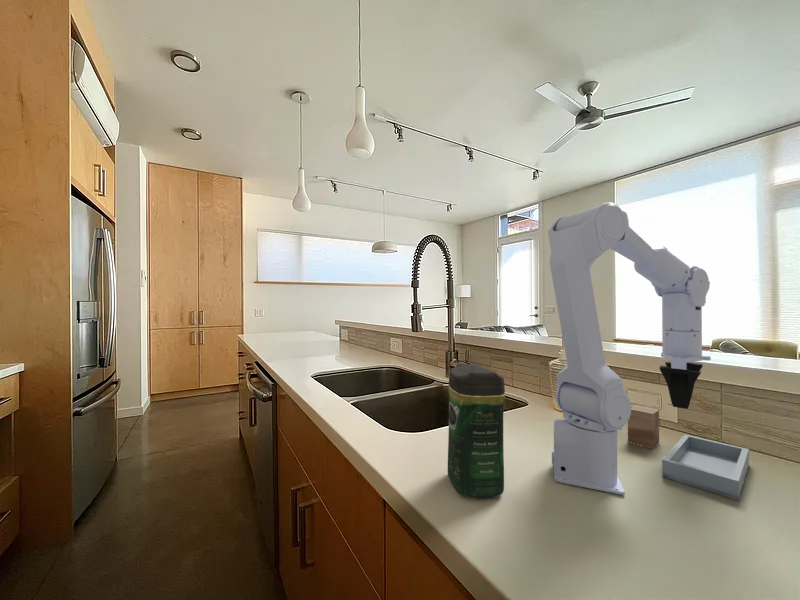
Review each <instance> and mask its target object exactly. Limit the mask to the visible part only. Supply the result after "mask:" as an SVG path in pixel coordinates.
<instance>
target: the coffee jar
mask: <svg viewBox="0 0 800 600" xmlns="http://www.w3.org/2000/svg"><path fill="white" fill-rule="evenodd" d="M505 389H506V388H505V379H504V376H503V375H501V374H498V372H496V371H493V370H490V369H489V368H485V367H484V366H483V365H481V364H478V363H458V364H456V366H454V367H453V368H451V369H450V371H449V375H448V400H449V401H448V438H447V439H448V442H447V445H448V447H447V476H448V479H449V481H450V483H451V485H452V487H453V488H454V489H455V491H456V492H457V493H458V494H459V496H462V497H468V498H472V499H475V500H484V501H485V500H492V499H493V498H496V497H499V496H501V495H503V493H504V491H505V465H504V464H505V463H504V462H505V461H504V459H505V458H504V455H505V454H504V407H505V406H504V405H505V399H506V398H505V397H506V391H505Z"/></svg>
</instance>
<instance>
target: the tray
mask: <svg viewBox="0 0 800 600" xmlns="http://www.w3.org/2000/svg"><path fill="white" fill-rule="evenodd" d="M661 460H662V461H661V470H662V472H661V476H662V478H666V479H668V480H672V481H674V482H679V483H681V484H684V485H687V486H690V487H694V488H698V489H699V490H703V491H707V492H710V493H713V494H717V495H720V496H722V497H725V498H729V499H732V500H736V501H740V498H741V494H742V491H743V487H744V485H745V480H746V477H747V474H746V473H748V470H747V469H749V467H748V465H749V466H750V448H747V447H741V446H738V445H737V446H736V445H733V444H729V443H723V442H720V441H716V440H711V439H705V438H702V437H698V436H693V435H688V434H683V436H682V437H681V438H680V439H679V440H678V441H677V442H676V443H675V445H674V446H673V447H672V448H671V449H670V450H669V452H667V454H666V455H665V456H664V457H663V458H662V459H661Z"/></svg>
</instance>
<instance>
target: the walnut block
mask: <svg viewBox="0 0 800 600" xmlns="http://www.w3.org/2000/svg"><path fill="white" fill-rule="evenodd" d="M628 441H629V442H632V443H631V444H633V443H635V444H634V445H636V444H639V445H638V446H640V445H642V446H641V447H644V446H645V447H644V448H647V447H649V449H651V448H653V449H652V450H654V449H655V448H657V446H658V445H659V444H660V409H656V408H653V407H652V408H651V407H647V406H640V405H637V404H634V405H631V415H630V418H629V420H628V422H627V442H628ZM629 442H628V443H629ZM658 443H659V444H658ZM657 444H658V445H657ZM656 445H657V446H656Z"/></svg>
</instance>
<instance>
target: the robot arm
mask: <svg viewBox="0 0 800 600" xmlns="http://www.w3.org/2000/svg"><path fill="white" fill-rule="evenodd" d="M547 235H548V239H549V240H548V241H549V247H550V258H549V267H550V273H551V278H552V283H553V285H552V286H553V288H554V289H553V290H554V295H555V301H556V302H555V303H556V306H557V311H558V318H559V324H560V329H561V335H562V340H563V346H564V352H565V353H564V354H565V358H566V359H565V360H566V364H567V365H566V366H565V367H564V368H563V369H562V370H560V371H559V372H558V373H557V375H556V381H557V382H556V383H557V386H556V392H555V402H556V405H557V406H558V408H559V409H560V411H562V413H563V415H562V418H563V419H559V418H557V419H556V418H554V419H553V451H552V452H551V464H552V465H553V471H554V472H553V473H554V481H555V482H557V483H562V484H566V485H570V486H571V485H572V486H576V487H581V488H587V489H592V490H597V491H601V492H606V493H611V494H616V495H622V496H625V494H626V493H625V492H626V491H625V488H624V487H623V484H622V482H621V480H620V478H619V475H618V431H621V430H623V427H624V426H625V425H626V424H628V420H629V418H630V415H631V407H632V403H631V400H630V398H629V395H628V393H627V392H626V391H625V387H624V384H623V379H622V377H620V376H619V375H618V374H617V373H616V372H615V371H614V370H612V369H611V368H610V367H609V366H608V365H607V364H606V359H605V354H604V347H603V342H602V335H601V330H600V325H599V319H598V312H597V307H596V306H597V304H596V301H595V299H596V298H595V295H594V293H595V292H594V287H593V283H592V276H591V266H592V265H593V264H594V263H595V262H596V260H597V258H599V257H601V256H603V254H605V253H607V251H609V250H610V249H611V250H612V251H614V252H615V253H617V254H619V255H621V256H623V257H624V258H626V259H628V260H629V261H631V262H632V263H633V268H634V270H635V272H636V273H637V274H639V275H641V276H642V277H643V278H644V279H646V280H647V281H649V282H650V283H651V286H653V288H654V291H655V293H656V295H657V296H658V297H661V298H662V299H661V301H662V303H661V305H662V306H661V309H662V310H661V314H662V315H661V316H662V317H661V318H662V322H661V324H662V325H661V327H662V328H661V330H662V331H661V334H662V338H661V339H662V342H661V343H662V347H661V348H662V349H661V350H662V352H661V353H660V357H661V358H663V359H666V360H668V361H666V362H664V364H665V365H660V366H659V371H660V373H661V375H662V376H663V378H664V381H665V382H666V386H667V389H668V393H669V398H670V402H671V405H672V408H673V407H674V408H677V409H679V408H680V409H684V410H688V409H689V407H690V404H691V399H692V397H693V392H694V388H695V383H696V381H697V379H698V378H699V377H700V375H701V374H702V371H701V370H702V368H703V363H700V361H711V359H712V358H711V355H704V354H703V332H702V331H703V326H702V325H703V322H702V319H703V318H702V317H703V314H702V313H703V312H702V311H703V310H702V307H705V304H706V303H707V302H706V301H707V294H708V292H709V290H710V284H711V283H710V279H709V276H708V273H707V272H706V270H705V269H703V268H700V267H698V266H696V265H693V266H689V265H688V264H686V263H685V262H683V260H681V259H680V258H678V257H677V256H676V255H674V254H673V253H672V252H670V251H669V249H668V248H667V247H665V246H663V245H662V246H659V245H658V246H657V245H655V246H650V244H648V243H647V241H646V240H644V239H643V238H642V237H641V236H640V235H639V234H638V233H636V231H634V230H633V229H632V228H631V227H630V222H629V217H628V213H627V212H626V211H624V210H622V208H620V206H618V204H617V203H614V202H610V201H609V202H604V203H602V204H600V205H598V206H594V207H591V208H588V209H585V210H582V211H578V212H575V213H572V214H569V215H563V216H560V217H558V218H557V219H556V220H555V221H554V222H553V224H552V226H551V227H550V228H549V229H548V231H547Z"/></svg>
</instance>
